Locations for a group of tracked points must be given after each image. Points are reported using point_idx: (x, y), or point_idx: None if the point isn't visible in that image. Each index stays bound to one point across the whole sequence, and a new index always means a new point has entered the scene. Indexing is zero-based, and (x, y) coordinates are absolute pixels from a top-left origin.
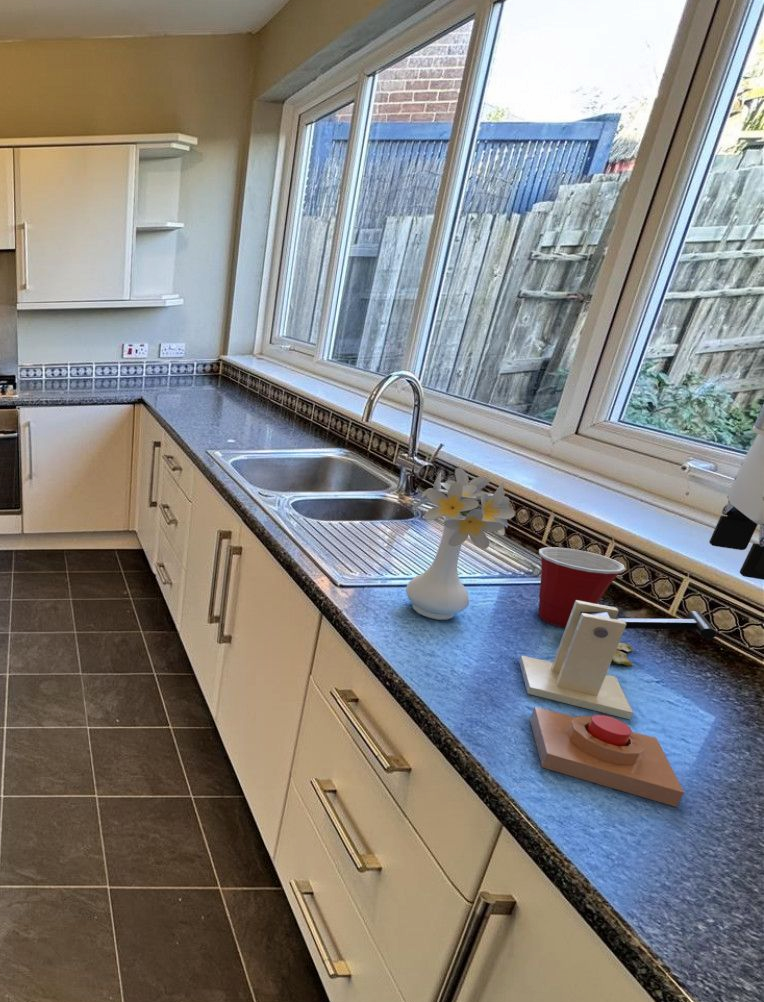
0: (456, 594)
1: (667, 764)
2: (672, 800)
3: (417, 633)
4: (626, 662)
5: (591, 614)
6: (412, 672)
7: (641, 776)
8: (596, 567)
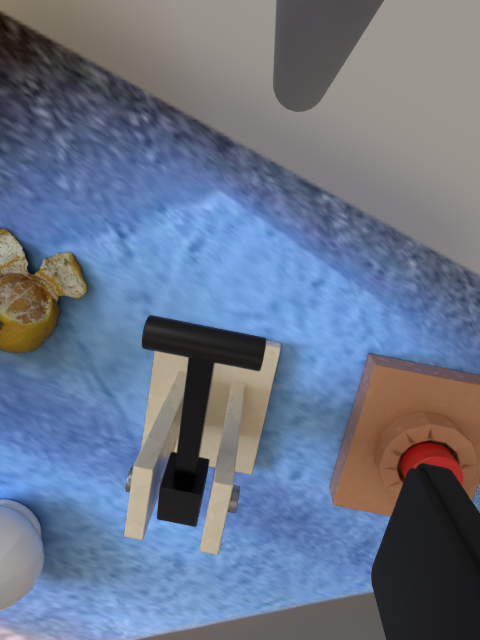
0: (6, 562)
1: (448, 382)
2: None
3: (109, 565)
4: (79, 272)
5: (174, 512)
6: (245, 598)
7: None
8: None
